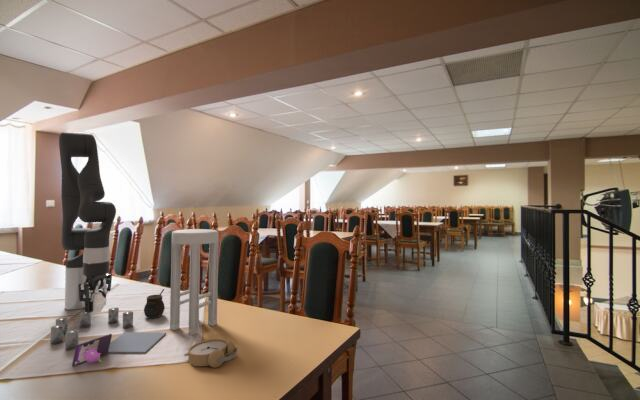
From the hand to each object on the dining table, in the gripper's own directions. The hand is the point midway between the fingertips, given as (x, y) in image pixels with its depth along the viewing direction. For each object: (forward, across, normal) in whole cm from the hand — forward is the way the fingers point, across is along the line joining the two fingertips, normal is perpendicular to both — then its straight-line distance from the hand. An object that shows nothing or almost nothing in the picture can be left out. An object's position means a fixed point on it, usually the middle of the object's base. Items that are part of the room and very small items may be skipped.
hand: (95, 308), depth 110 cm
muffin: (+1, 0, 0) cm, 1 cm away
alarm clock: (+8, +18, +45) cm, 49 cm away
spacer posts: (+8, 0, -2) cm, 9 cm away
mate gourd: (+9, -16, +12) cm, 22 cm away
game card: (+8, +20, +12) cm, 25 cm away
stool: (+9, -6, +31) cm, 33 cm away
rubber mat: (+8, +8, +17) cm, 20 cm away
